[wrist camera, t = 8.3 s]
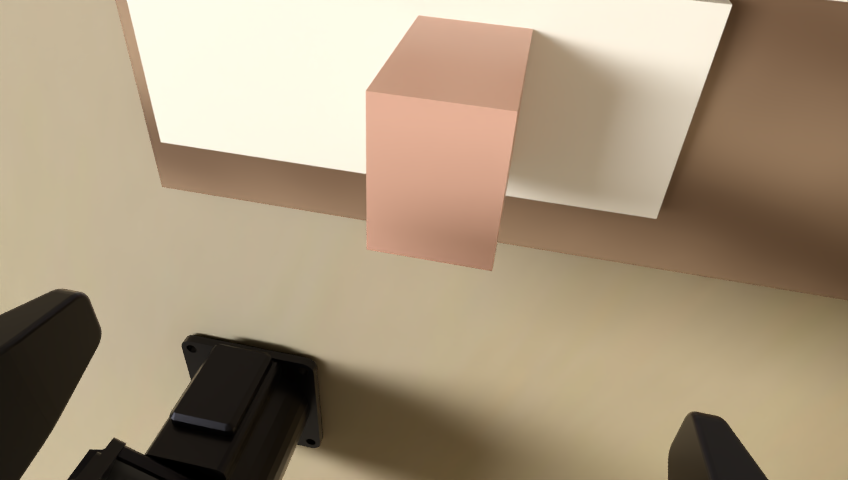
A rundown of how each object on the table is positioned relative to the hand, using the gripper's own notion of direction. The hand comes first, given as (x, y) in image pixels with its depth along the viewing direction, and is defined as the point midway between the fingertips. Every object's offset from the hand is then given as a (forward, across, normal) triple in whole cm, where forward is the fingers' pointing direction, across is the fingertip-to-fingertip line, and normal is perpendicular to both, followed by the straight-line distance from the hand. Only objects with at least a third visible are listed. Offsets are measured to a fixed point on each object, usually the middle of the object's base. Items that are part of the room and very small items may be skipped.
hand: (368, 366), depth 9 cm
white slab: (+12, +2, 0) cm, 12 cm away
